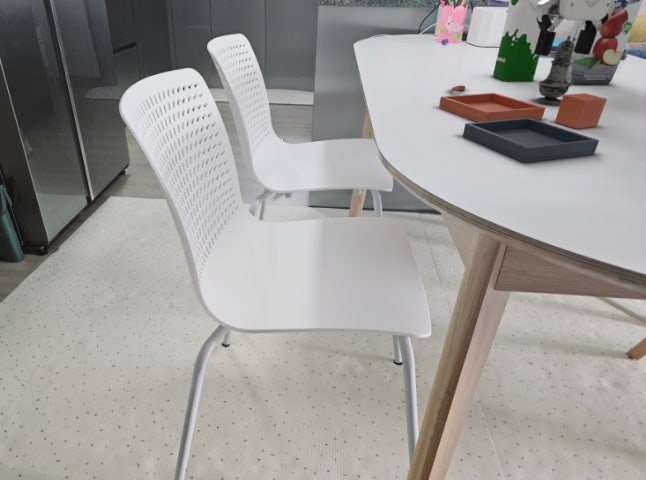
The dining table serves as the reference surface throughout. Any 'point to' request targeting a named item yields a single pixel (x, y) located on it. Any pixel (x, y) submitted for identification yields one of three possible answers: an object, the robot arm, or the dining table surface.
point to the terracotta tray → (490, 107)
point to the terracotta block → (580, 110)
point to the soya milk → (518, 42)
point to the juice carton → (603, 46)
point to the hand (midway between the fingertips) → (561, 54)
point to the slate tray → (530, 139)
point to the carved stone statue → (557, 75)
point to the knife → (457, 90)
